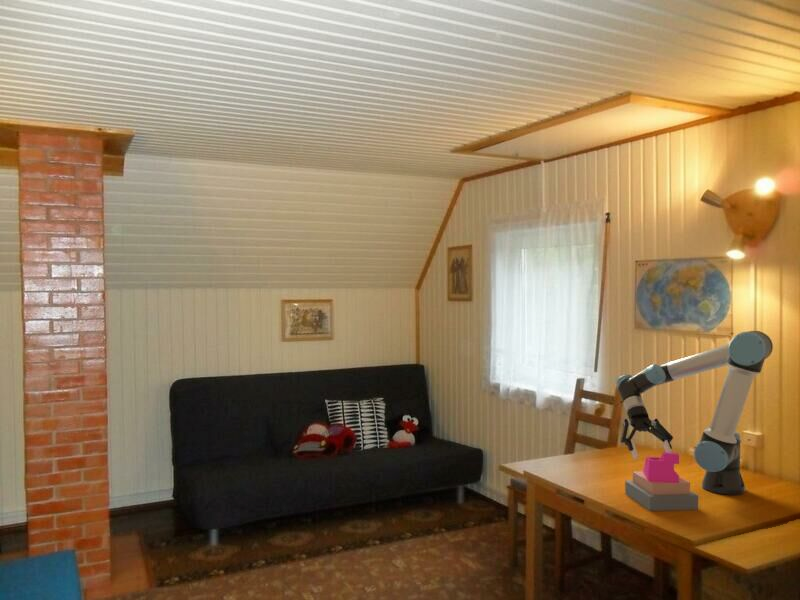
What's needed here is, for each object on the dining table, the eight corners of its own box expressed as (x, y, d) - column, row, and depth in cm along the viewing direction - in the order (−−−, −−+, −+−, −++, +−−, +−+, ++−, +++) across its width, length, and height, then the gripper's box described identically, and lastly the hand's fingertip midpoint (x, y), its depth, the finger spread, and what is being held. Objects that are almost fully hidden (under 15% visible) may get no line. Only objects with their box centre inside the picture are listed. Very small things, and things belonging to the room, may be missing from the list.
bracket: (678, 483, 238) (679, 454, 238) (648, 481, 240) (648, 453, 240) (671, 474, 250) (672, 446, 250) (643, 472, 252) (643, 445, 252)
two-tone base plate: (669, 492, 257) (670, 469, 257) (698, 509, 237) (698, 484, 237) (625, 493, 255) (625, 470, 255) (649, 510, 235) (650, 485, 235)
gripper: (662, 415, 269) (681, 461, 254) (603, 415, 266) (618, 463, 252) (669, 404, 263) (689, 451, 249) (608, 405, 261) (625, 452, 246)
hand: (653, 457), depth 250 cm, fingers open, 13 cm apart
